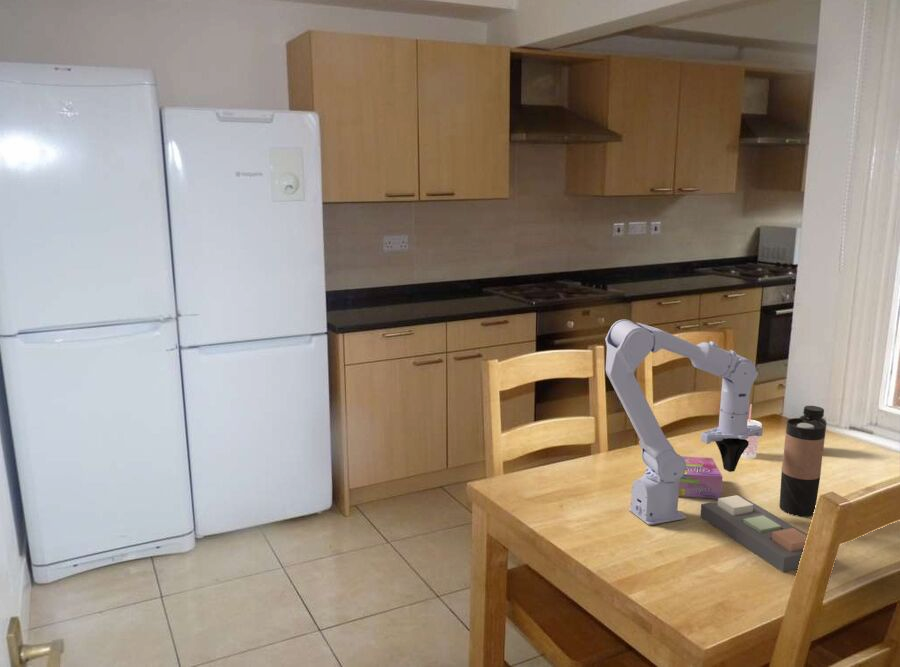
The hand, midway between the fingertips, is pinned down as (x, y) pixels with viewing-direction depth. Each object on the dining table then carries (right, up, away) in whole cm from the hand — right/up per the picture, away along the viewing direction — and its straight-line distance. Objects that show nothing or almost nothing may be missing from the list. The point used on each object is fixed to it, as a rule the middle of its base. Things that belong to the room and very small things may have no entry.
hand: (729, 470), depth 160 cm
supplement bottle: (+35, -2, +37) cm, 51 cm away
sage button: (+2, -10, -11) cm, 15 cm away
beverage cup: (+17, -3, +34) cm, 38 cm away
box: (-2, -3, +19) cm, 19 cm away
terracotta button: (+5, -11, -19) cm, 22 cm away
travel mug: (+16, -9, +2) cm, 18 cm away
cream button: (0, -8, -4) cm, 9 cm away
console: (+2, -12, -11) cm, 16 cm away
